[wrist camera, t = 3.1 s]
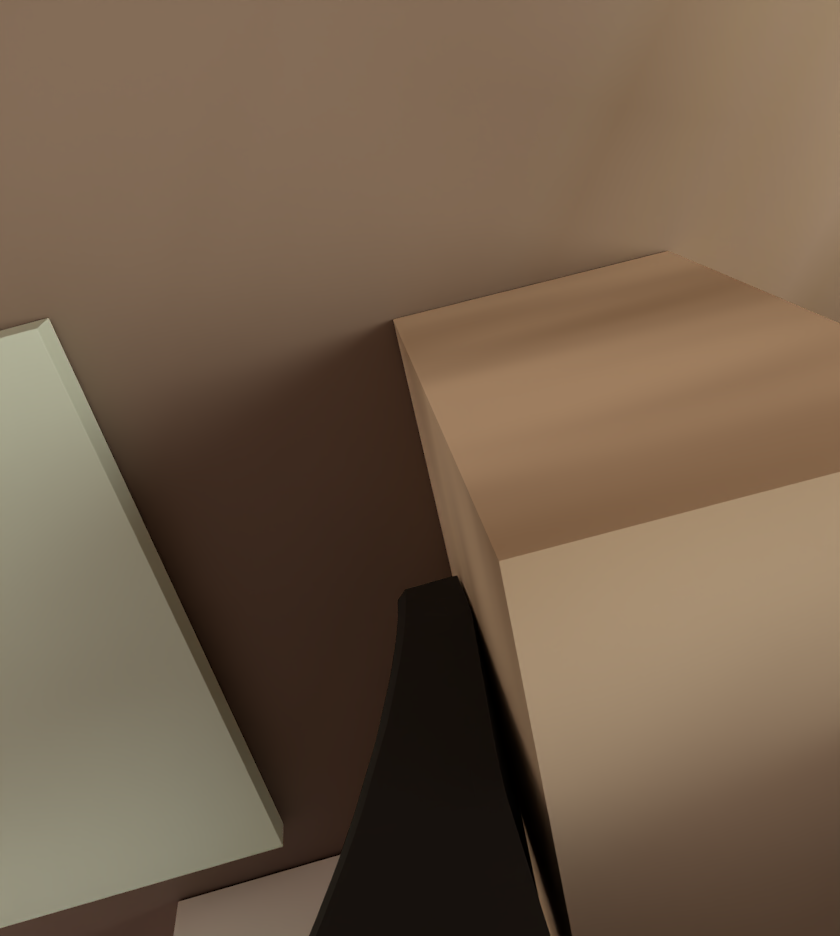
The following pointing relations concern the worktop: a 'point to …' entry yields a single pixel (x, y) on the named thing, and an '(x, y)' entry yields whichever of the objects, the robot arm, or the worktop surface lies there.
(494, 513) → the wooden block
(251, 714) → the worktop surface
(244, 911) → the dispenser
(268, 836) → the mat
